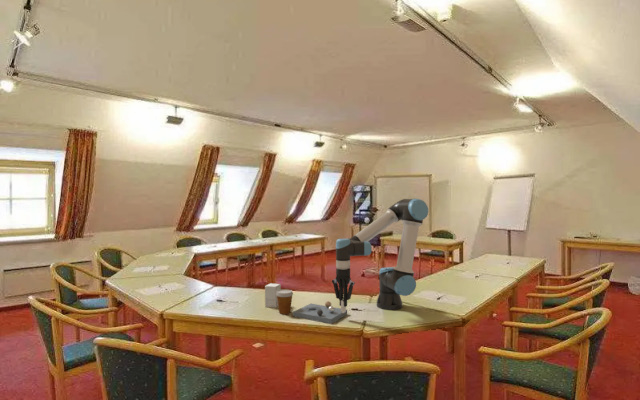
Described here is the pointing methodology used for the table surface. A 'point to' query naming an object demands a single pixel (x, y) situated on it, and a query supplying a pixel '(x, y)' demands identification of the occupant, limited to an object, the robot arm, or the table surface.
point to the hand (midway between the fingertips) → (343, 312)
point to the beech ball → (328, 304)
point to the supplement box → (271, 295)
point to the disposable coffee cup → (284, 301)
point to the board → (311, 314)
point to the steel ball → (331, 309)
